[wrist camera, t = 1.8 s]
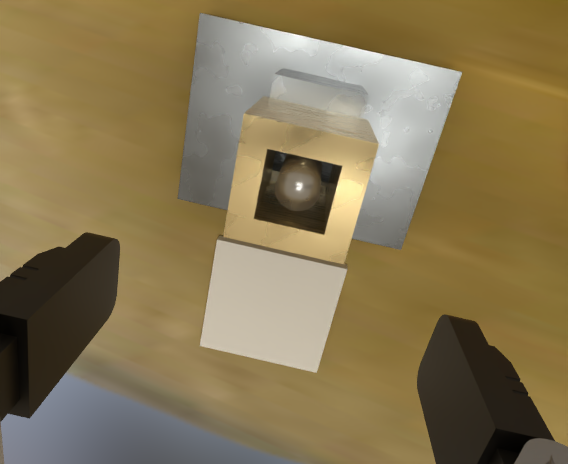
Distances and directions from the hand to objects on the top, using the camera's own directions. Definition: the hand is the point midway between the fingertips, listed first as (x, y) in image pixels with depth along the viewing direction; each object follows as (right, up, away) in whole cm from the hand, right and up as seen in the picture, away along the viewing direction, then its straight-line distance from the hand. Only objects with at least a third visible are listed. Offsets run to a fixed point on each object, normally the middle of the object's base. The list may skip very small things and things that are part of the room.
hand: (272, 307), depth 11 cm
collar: (+1, +6, +14) cm, 15 cm away
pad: (-1, -4, +26) cm, 26 cm away
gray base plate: (+2, +9, +20) cm, 22 cm away
